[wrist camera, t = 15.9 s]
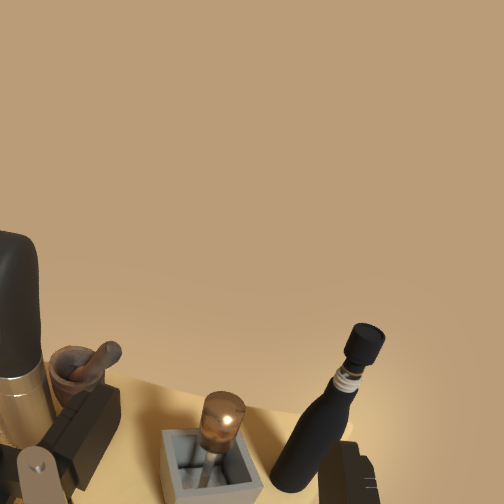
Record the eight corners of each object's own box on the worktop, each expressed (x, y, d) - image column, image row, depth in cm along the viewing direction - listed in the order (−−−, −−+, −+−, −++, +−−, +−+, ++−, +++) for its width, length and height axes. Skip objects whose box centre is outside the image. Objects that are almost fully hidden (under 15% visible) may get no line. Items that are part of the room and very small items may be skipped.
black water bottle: (264, 485, 40) (339, 335, 30) (277, 458, 46) (345, 310, 36) (302, 498, 38) (397, 355, 29) (312, 470, 44) (395, 327, 34)
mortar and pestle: (129, 410, 48) (129, 317, 42) (124, 448, 40) (119, 356, 34) (67, 397, 46) (54, 303, 39) (56, 433, 38) (32, 337, 31)
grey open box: (171, 528, 29) (176, 497, 25) (159, 473, 38) (161, 429, 34) (242, 520, 33) (263, 486, 29) (222, 468, 42) (237, 425, 38)
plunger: (181, 513, 30) (196, 436, 24) (170, 471, 36) (181, 380, 30) (233, 507, 33) (272, 429, 27) (219, 468, 39) (248, 379, 33)
